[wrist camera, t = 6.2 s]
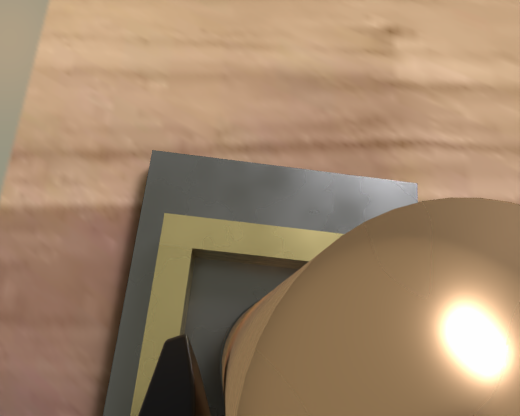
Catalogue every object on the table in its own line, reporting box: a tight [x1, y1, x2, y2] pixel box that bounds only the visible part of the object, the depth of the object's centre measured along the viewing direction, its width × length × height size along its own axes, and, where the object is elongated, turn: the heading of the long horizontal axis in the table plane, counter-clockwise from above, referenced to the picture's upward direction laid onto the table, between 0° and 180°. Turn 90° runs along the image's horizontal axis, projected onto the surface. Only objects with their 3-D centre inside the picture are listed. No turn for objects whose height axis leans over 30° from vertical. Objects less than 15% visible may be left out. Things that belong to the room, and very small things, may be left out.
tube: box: [220, 198, 520, 416], centre depth 10 cm, size 4×4×14 cm
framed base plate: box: [103, 150, 418, 416], centre depth 16 cm, size 16×12×3 cm
